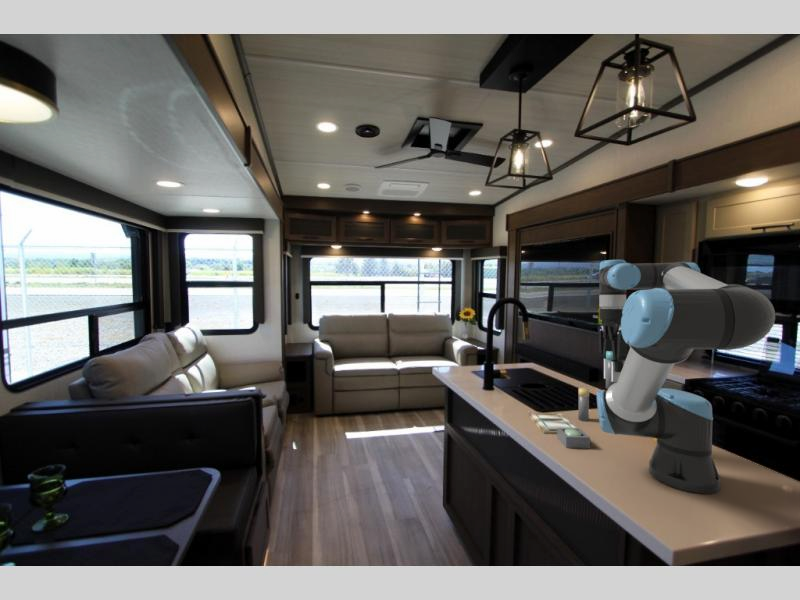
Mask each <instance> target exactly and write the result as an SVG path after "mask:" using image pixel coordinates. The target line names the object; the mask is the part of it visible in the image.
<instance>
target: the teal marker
mask: <svg viewBox="0 0 800 600" xmlns="http://www.w3.org/2000/svg"><path fill="white" fill-rule="evenodd" d="M611 360H613V352H612V351H606V379H605V390H606V389H607V390H608V388H609V387H610V386H611V385H613V384H614V383H617V382H612V381H611V368H612V361H611Z"/></svg>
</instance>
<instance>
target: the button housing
mask: <svg viewBox="0 0 800 600" xmlns="http://www.w3.org/2000/svg"><path fill="white" fill-rule="evenodd" d="M566 429H575V430H578V431H580V432H581V433H582V436H567V435H566V434H565V430H566ZM556 436H557V439H558V441H559V440H560V441H561V444H562V445H563V446H564V448H566V449H590V448H591V437H590V435H588V434H587V433H586V432H584V430H582V429H581V428H580V427H577V428H557V434H556ZM560 441H559V442H560Z"/></svg>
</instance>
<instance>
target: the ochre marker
mask: <svg viewBox="0 0 800 600" xmlns="http://www.w3.org/2000/svg"><path fill="white" fill-rule="evenodd" d="M577 391H578V413H577V414H578V420H579V421H582V422H588V421H589V420H590V418H589V417H590V389H589V388H586V387H579V388H578V390H577Z"/></svg>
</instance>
